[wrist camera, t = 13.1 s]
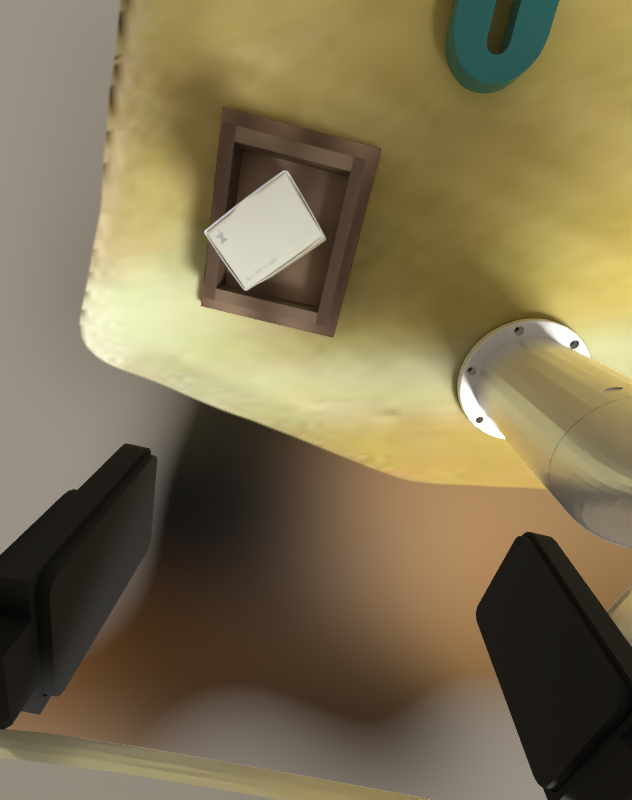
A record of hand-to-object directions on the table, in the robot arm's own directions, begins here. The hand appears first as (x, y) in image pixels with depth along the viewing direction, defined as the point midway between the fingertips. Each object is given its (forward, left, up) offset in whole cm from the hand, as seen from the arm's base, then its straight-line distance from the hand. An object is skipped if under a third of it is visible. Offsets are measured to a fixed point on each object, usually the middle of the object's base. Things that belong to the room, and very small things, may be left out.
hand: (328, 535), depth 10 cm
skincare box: (+6, -6, -30) cm, 31 cm away
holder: (+6, -6, -30) cm, 31 cm away
